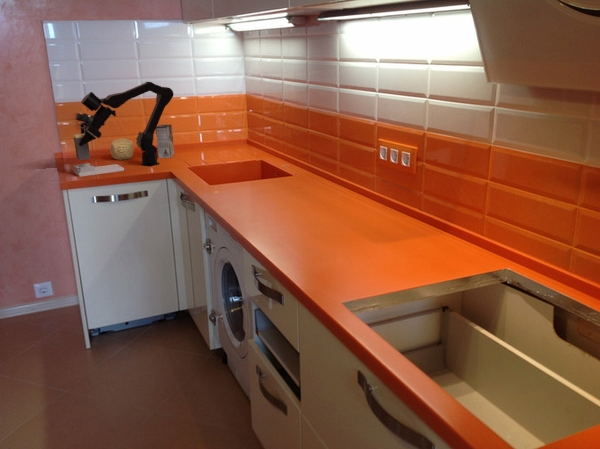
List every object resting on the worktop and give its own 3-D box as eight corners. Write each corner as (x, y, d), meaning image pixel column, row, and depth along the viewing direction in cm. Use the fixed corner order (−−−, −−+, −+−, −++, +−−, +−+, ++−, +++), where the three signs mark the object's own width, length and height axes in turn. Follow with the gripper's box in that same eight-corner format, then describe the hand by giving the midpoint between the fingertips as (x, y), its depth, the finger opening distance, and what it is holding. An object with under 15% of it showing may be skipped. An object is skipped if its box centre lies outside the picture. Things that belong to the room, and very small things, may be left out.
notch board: (117, 166, 265) (116, 159, 264) (123, 170, 256) (123, 163, 255) (74, 172, 254) (72, 164, 253) (79, 176, 246) (78, 168, 244)
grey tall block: (88, 156, 254) (84, 133, 250) (90, 158, 250) (87, 134, 246) (76, 158, 251) (73, 134, 248) (79, 160, 247) (75, 135, 244)
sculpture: (114, 162, 275) (111, 140, 272) (109, 158, 285) (106, 137, 282) (137, 159, 281) (134, 138, 277) (131, 155, 291) (129, 135, 287)
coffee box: (162, 154, 292) (159, 124, 287) (174, 154, 292) (171, 124, 287) (158, 158, 283) (155, 127, 278) (170, 157, 283) (167, 126, 278)
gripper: (80, 104, 253) (59, 130, 251) (89, 108, 238) (67, 136, 236) (100, 120, 259) (79, 145, 257) (110, 124, 244) (88, 151, 242)
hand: (78, 144), depth 248 cm, fingers closed on grey tall block, 5 cm apart
